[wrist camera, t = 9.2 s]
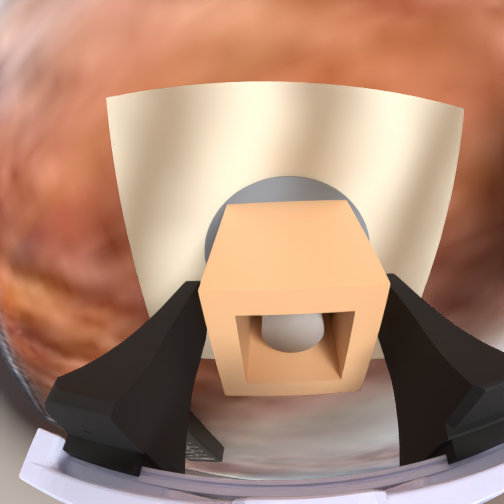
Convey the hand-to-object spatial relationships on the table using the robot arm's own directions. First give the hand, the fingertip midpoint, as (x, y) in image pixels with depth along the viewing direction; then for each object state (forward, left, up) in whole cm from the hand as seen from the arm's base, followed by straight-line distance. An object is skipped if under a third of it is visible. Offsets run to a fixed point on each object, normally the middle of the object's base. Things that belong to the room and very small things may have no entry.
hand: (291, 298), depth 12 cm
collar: (0, 0, -3) cm, 3 cm away
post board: (0, 0, -4) cm, 4 cm away
